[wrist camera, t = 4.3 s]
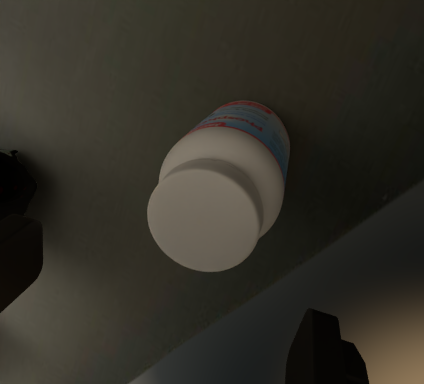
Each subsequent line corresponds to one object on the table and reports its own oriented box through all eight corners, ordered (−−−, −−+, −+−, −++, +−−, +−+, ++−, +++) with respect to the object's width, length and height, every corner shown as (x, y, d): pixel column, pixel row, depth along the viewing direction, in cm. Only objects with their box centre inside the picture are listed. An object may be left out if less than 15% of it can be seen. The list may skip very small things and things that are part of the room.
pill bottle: (270, 83, 22) (242, 123, 12) (303, 170, 23) (303, 269, 13) (186, 119, 24) (103, 179, 14) (222, 197, 26) (170, 299, 16)
